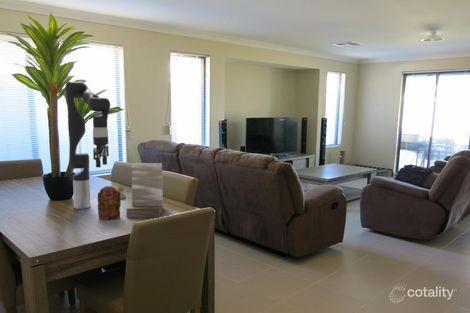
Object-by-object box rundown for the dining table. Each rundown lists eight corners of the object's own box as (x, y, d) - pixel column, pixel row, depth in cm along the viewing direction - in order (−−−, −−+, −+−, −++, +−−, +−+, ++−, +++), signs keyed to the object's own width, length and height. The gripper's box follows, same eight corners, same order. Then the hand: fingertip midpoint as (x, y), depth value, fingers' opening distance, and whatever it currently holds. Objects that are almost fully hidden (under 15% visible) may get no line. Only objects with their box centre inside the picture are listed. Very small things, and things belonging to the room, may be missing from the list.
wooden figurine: (98, 221, 196) (97, 188, 193) (98, 217, 201) (97, 186, 199) (121, 218, 200) (120, 187, 198) (120, 215, 206) (119, 184, 204)
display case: (132, 208, 220) (131, 163, 216) (162, 208, 222) (162, 163, 218) (126, 217, 203) (125, 168, 199) (159, 217, 204) (158, 168, 200)
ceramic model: (104, 196, 249) (104, 182, 247) (119, 193, 257) (119, 180, 255) (114, 200, 239) (114, 185, 238) (130, 197, 247) (129, 183, 246)
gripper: (99, 134, 199) (100, 163, 201) (87, 136, 185) (88, 168, 187) (112, 134, 198) (113, 164, 201) (102, 137, 184) (103, 168, 187)
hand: (101, 165), depth 194 cm, fingers open, 8 cm apart
